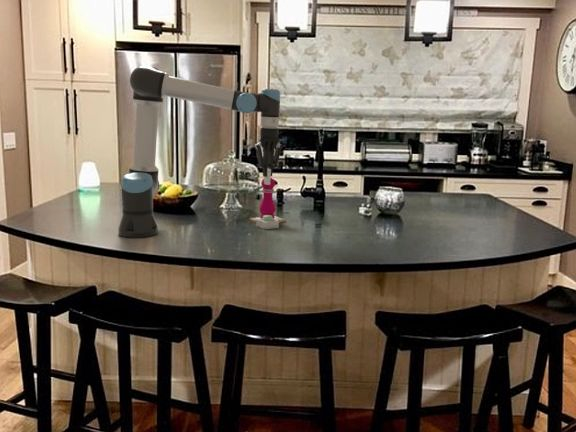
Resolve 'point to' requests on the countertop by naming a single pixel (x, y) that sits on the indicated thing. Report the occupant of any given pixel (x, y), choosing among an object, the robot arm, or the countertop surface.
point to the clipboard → (274, 218)
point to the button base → (267, 223)
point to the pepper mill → (267, 199)
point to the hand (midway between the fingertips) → (267, 184)
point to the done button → (267, 218)
